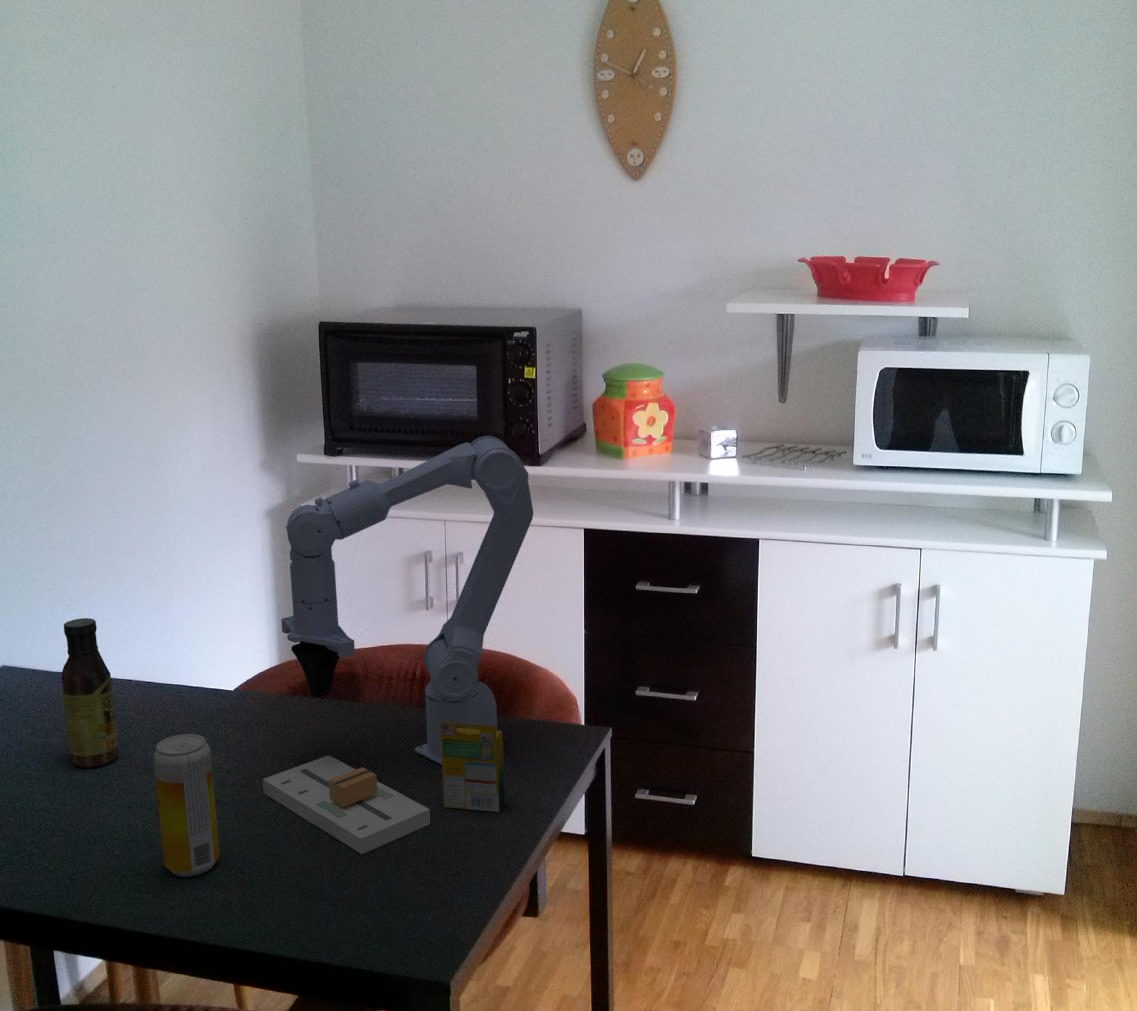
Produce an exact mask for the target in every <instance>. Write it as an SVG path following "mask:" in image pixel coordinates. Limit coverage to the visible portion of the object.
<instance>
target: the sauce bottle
mask: <svg viewBox="0 0 1137 1011" xmlns="http://www.w3.org/2000/svg"><path fill="white" fill-rule="evenodd" d="M97 628H98V627H97V622H96V620H95V618H89V617H88V618H87V617H86V618H85V617H82V618H76V619H72V620H69V621H66V622H65V623H64V624H63V632H64V636H65V638H66V644H67V650H66V651H67V654H68V658H67V660H66V662H65V664H63V668H62V670H61V681H62V688H63V692H62V696H63V704H64V712H65V721H66V730H67V739H68V746H69V747H68V748H69V754H70V756H71V762H72V763H73V765H74V766H77V767H80V768H94V767H101V766H104V765H106V764H109V763H111V762H112V761H114V760H115V759H116V758H117V757H118V753H119V748H118V747H119V746H118V745H119V741H118V740H119V738H118V729H117V720H116V710H115V703H114V694H113V692H114V691H113V683H112V677H111V676H112V675H111V672H110V671H109V669H108V667H107V665H106V663H105V661H104V658H103V657H102V655H101V653H100V651H99V646H98V641H97V640H98V639H97V634H96V633H97Z"/></svg>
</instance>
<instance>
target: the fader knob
mask: <svg viewBox="0 0 1137 1011" xmlns="http://www.w3.org/2000/svg"><path fill="white" fill-rule="evenodd" d="M377 776H378V775H377V774H376V773H374V772H373V771H372V770H370V769H367V768H365V767H360V768H357V769H356V770H354V771H351V772H349V773H346V774H343V775H341V776H338V777H335V778H333V779H330V780H329V793H330V799H331V800H333V801H334V802H336V803H338V804H340V805H341V806H343V807H344V806H347V805H349V804H352V803H354V802H357V801H359V800H362V799H364V798H367V797H369V796H372V795H374V794H377V793H378V791H377V781H378V777H377Z"/></svg>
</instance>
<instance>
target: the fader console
mask: <svg viewBox="0 0 1137 1011" xmlns="http://www.w3.org/2000/svg"><path fill="white" fill-rule="evenodd" d="M354 770H357V769H356V768H354V767H352V766H350V765H348V764H346V763H344V762H342V761H341V760H339V759H337V758H335V757H333V756H331V755H324V756H323V757H320V758H318V759H315V760H312V761H309V762H306V763H304V764H301V765H297V766H295V767H293V768H289V769H286V770H283V771H281V772H278V773H276V774H274V775H271V776H270V775H269V776H268V777H265V778H263V779H262V788H263V794H264V795H265V796H267V797H269V798H271V799H272V800H274V801H275V802H277V803H278V804H280V805H282V806H283V807H285V808H286V809H288V810H290V811H291V812H293V813H295V814H296V815H298V816H299V817H301V818H302V819H304V820H305V821H307V822H308V823H310V824H311V825H314V826H315V827H317V828H319V829H320V830H322V831H323V832H325V833H327V834H329V835H330V836H331V837H333V838H335V839H336V840H338V841H340V842H341V843H342V844H345V845H346V846H348V847H349V848H351V849H352V850H354V851H355V852H358V853H359V854H360V855H364V854H366V853H368V852H371V851H373V850H375V849H378V848H380V847H382V846H384V845H386V844H389V843H391V842H393V841H397V840H398V839H400V838H402V837H405V836H407V835H409V834H411V833H413V832H416V831H418V830H420V829H424V828H425V827H427V826H429V825H431V814H430V813H431V811H430V808H428V807H426V806H424V805H423V804H421V803H418V802H417V801H415V800H413V799H411V798H409V797H407V796H406V795H404V794H402V793H400V792H398V791H396V790H394V789H393V788H391V787H389V786H387V785H385V784H383V783H382V782H379V781H378V780H377V791H378V793H377V794H374V795H372V796H369V797H367V798H364V799H362V800H359V801H357V802H354V803H352V804H349V805H347V806H344V807H343V806H341V805H340V804H338V803H336V802H334V801H333V800H331V799H330V793H329V780H330V779H333V778H335V777H338V776H341V775H343V774H346V773H349V772H351V771H354Z"/></svg>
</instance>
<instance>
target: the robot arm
mask: <svg viewBox="0 0 1137 1011" xmlns="http://www.w3.org/2000/svg"><path fill="white" fill-rule="evenodd" d="M472 481H475V482H476V483H477V485H478V486H479V488H480V489H481V490H482V491H483V492H484V494H485V496H486V498H487V500H488V502H489V504H490V507H491V509H492V511H493V515H492V518H491V520H490V521H489V525H488V527H487V530H486V532H485V534H484V537H483V539H482V542H481V543H480V546H479V548H478V550H477V554H476V555H475V558H474V561H473V563H472V565H471V568H470V570H469V572H468V576H467V578H466V580H465V583H464V585H463V587H462V590H461V592H460V594H459V597H458V600H457V601H456V604H455V607H454V610H453V612H452V613H451V616H450V618H448V620H447V621H446V622H444V623H443V625H442V627H441V629H440V632H439V633H438V634H437V635H436V637H435V638H434V639H433V640H431V641H430V642H429V643H428V645H427V646H426V647H425V649H424V650H425V651H424V655H423V661H424V662H423V663H424V665H425V667H426V669H427V671H428V673H429V676H430V680H429V682H428V684H427V685H426V686H425V690H424V691H425V692H424V694H425V717H426V737H427V738H426V740H427V742H426V743H425V744H422V745H420V746H419V745H418V746H416V747H415V748H414V752H415V753H416V754H418V755H421V756H423V757H425V758H427V759H429V760H431V761H433V762H434V763H437V764H438V765H441V766H442V750H441V722H454V723H468V724H482V725H496V731H498V716H497V713H498V712H497V708H498V707H497V702H496V699H495V698H496V697H495V695H494V692H493V691H492V689H491V688H490V687H489V686H488V685H487V684H485V683H484V682H481V681H479V663H480V660H481V658H482V656H483V647H484V638H485V637H484V636H485V633H486V631H487V628H488V625H489V623H490V621H491V619H492V616H493V614H494V611H495V610H496V607H497V605H498V603H499V600H500V597H501V596H502V593H503V590H504V588H505V585H506V583H507V581H508V579H509V576H510V573H511V571H512V569H513V566H514V564H515V561H516V559H517V557H518V554H519V552H520V549H521V547H522V544H523V542H524V540H525V537H526V535H527V533H528V530H529V528H530V526H531V523H532V521H533V518H534V509H533V502H532V496H531V491H530V490H531V489H530V485H529V473H528V471H527V469H526V467H525V465H524V463H523V462H522V460H521V459H520V457H519V456H518V454H517V453H515V451H514V450H511V449H510V448H509V446H508V445H507V444H506V443H505V442H504V441H503V440H501V439H500V438H498V437H495V436H492V435H485V436H484V435H483V436H480V437H478V438H476V439H474V440H473V441H472V442H471V443H470V442H463V443H461V444H458V445H456V446H455V447H452V448H450V449H448V450H446V451H444V452H442V453H440V454H438V455H436V456H434V457H432V458H430V459H428V460H427V461H424V462H422V463H420V464H418V465H416V466H414V467H412V468H410V469H408V470H406V471H405V472H402V473H400V474H398V475H396V476H395V477H393V478H391V479H388V480H387V481H384V482H382V483H378V482H374V481H372V480H369V479H367V480H363V481H361V482H359V480H358V479H353V480H352V481H350V482H348V488H346V489H343V490H341V491H339V492H337V493H335V494H332V495H330V496H327V497H326V498H324V499H323V497H322V496H319V497H317V498H315V499H314V504H304V505H301V506H299V507H296V508H295V509H294V510H293V511H292V513H291V514H290V515H289V516H288V520H287V524H286V527H285V528H286V532H287V534H286V535H287V541H288V543H289V544H290V550H289V559H290V561H291V562H290V565H289V571H290V573H289V574H290V585H291V586H290V587H291V588H290V589H291V599H292V600H291V601H292V616H291V615H290V616H287V617H284V618H281V619H280V621H281V632H282V633H283V634H287V640H288V641H290V642H292V643H296V644H294V645H293V644H292V645H291V646H290V647H291V651H292V652H291V653H293V655H294V656H295V658H296V659H297V660H298V663H299V665H300V666H301V669H302V670H303V673H304V676H305V679H306V683H307V686H308V688H309V691H310V693H311V696H312V697H315V698H318V699H319V698H321V697H325V696H327V695H330V694H331V689H332V685H333V681H334V675H335V672H336V668H337V665H338V662H339V661H340V658H341V659H343V658H346V657H349V656H353V655H355V654H356V650H355V649H356V648H355V639H352V638H350V637H349V636H348V634H347V633H346V632H345V631H344V630H343V628H342V627H341V625H339V613H338V596H337V582H336V581H337V580H336V564H335V560H334V559H333V550H332V546H333V545H334V543H335V541H337V540H339V541H340V540H344V539H346V538H348V537H351V536H352V535H355V534H357V533H360V532H362V531H364V530H366V529H368V528H370V527H372V526H374V525H377V524H379V523H382V522H383V521H385V520H386V519H387V518H388V515H389V512H390V511H391V508H392V507H393V506H396V505H399V504H401V503H404V502H406V501H408V500H411V499H414V498H417V497H418V496H421V495H423V494H426V493H429V492H431V491H434V490H436V489H438V488H439V489H440V488H441V487H444V486H447V485H451V486H456V487H461V488H466V489H472V488H473V484H472V483H473V482H472ZM463 729H472V728H470V727H466V728H463ZM476 730H479V729H476Z"/></svg>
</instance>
